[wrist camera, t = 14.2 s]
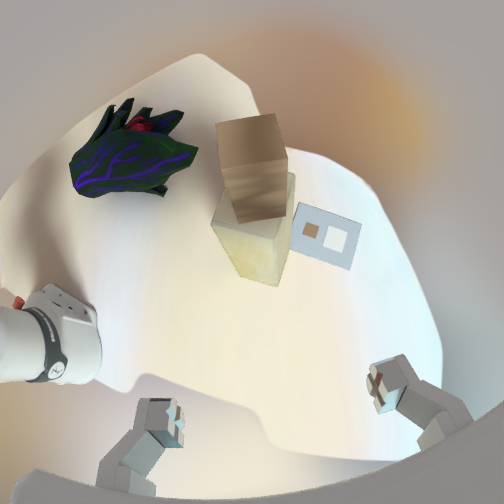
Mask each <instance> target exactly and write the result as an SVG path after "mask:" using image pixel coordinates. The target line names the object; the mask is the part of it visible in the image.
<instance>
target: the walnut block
mask: <svg viewBox="0 0 504 504" xmlns="http://www.w3.org/2000/svg"><path fill="white" fill-rule="evenodd" d="M215 124H216V134H217V143H218V153H219V162H220V170H221V173H222V176H223V179H224V182H225V185H226V188H227V191H228V194H229V197H230V200H231V203H232V206H233V209H234V212H235V215H236V218H237V221H238V224H243V223H249V222H255V221H261V220H266V219H272V218H278V217H285V216H286V205H287V173H288V157H287V154H286V150H285V146H284V143H283V139H282V136H281V133H280V129H279V126H278V122H277V119H276V116H275V114H267V115H260V116H254V117H247V118H242V119H236V120H230V121H225V122H220V123H215Z"/></svg>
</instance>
